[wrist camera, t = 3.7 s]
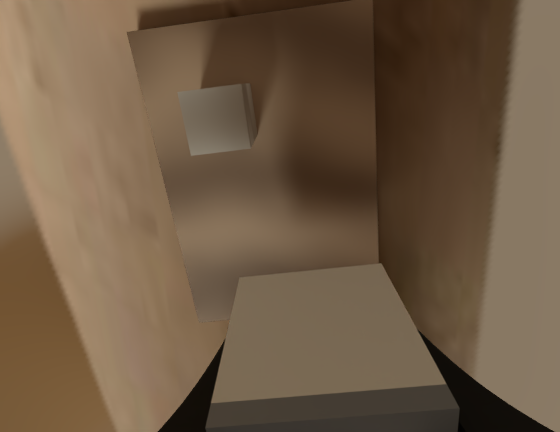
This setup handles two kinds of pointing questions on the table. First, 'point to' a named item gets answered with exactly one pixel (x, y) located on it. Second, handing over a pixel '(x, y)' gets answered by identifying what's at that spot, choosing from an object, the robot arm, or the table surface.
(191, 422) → the robot arm
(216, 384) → the matte gray cube
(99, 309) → the table surface
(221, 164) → the stand
